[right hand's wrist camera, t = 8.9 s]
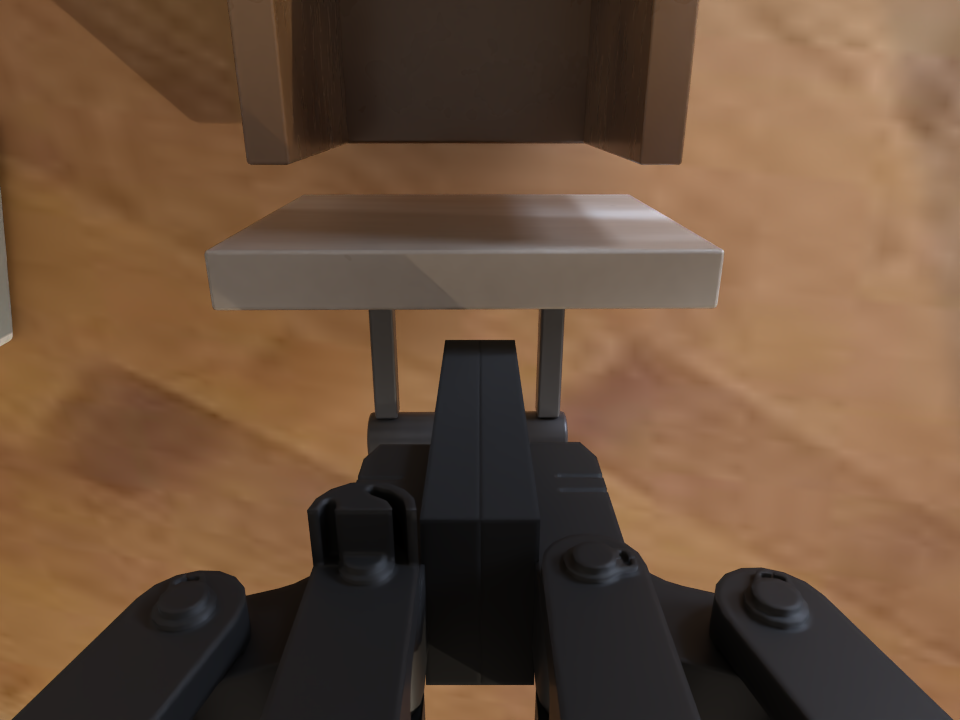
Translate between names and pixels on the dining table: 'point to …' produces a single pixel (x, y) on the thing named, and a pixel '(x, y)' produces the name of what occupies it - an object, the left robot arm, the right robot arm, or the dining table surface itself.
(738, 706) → the right robot arm
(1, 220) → the hard drive box
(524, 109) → the drawer
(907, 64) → the dining table surface
